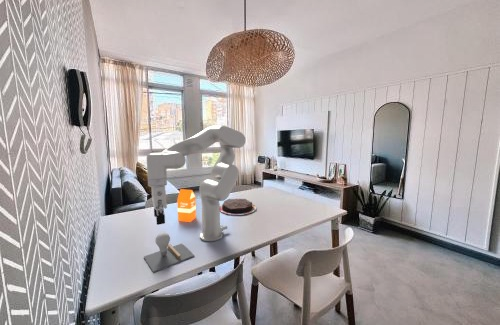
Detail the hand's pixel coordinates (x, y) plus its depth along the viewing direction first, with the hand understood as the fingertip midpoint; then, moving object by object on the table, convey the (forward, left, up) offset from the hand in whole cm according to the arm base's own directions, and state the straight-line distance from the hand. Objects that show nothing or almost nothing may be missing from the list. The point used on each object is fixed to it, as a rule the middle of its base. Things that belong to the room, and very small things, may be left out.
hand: (159, 219), depth 95 cm
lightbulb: (-1, -1, -18) cm, 18 cm away
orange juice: (-28, -35, -19) cm, 49 cm away
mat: (-3, +1, -18) cm, 19 cm away
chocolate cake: (-65, -29, -19) cm, 74 cm away
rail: (-6, 0, -18) cm, 19 cm away
